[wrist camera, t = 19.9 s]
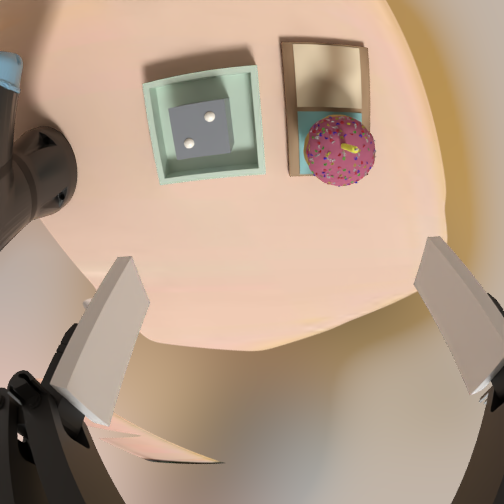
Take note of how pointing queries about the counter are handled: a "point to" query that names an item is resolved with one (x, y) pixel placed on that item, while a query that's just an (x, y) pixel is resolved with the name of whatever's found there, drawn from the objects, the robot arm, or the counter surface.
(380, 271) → the counter surface
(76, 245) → the counter surface
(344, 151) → the cupcake
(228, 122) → the die
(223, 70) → the tray
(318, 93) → the board
